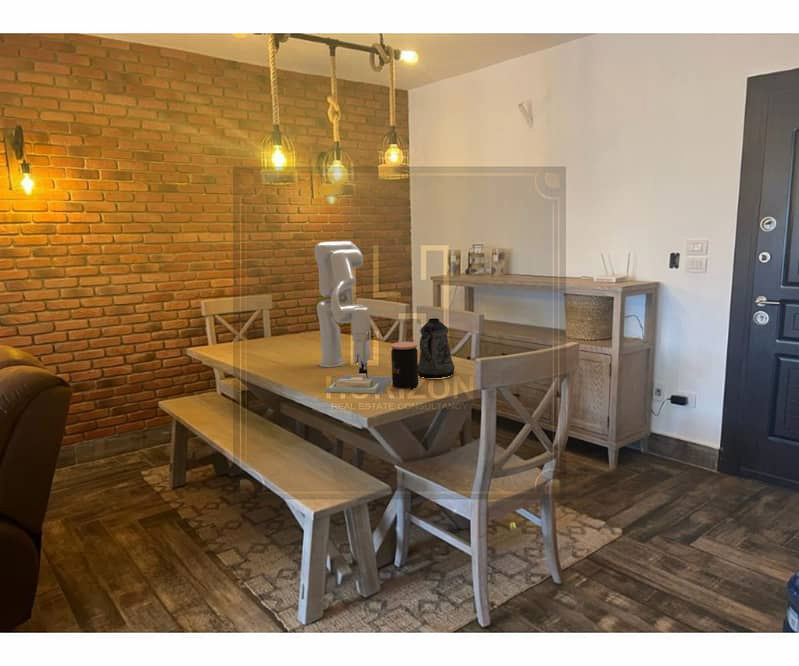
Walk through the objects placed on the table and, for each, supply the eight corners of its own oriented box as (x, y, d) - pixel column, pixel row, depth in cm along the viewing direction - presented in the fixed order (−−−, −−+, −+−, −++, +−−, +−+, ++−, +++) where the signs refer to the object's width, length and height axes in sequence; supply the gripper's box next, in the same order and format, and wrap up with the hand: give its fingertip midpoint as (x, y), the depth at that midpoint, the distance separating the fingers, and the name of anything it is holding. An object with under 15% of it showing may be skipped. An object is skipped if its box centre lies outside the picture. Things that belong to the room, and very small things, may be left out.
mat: (341, 377, 257) (341, 371, 256) (394, 378, 252) (394, 372, 251) (322, 394, 232) (322, 387, 231) (381, 396, 227) (380, 389, 226)
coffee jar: (391, 384, 244) (390, 342, 240) (417, 383, 244) (415, 341, 241) (393, 391, 233) (391, 347, 230) (419, 390, 234) (418, 346, 231)
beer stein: (453, 369, 264) (452, 315, 260) (456, 381, 245) (455, 322, 241) (417, 370, 265) (415, 316, 260) (417, 382, 246) (415, 323, 241)
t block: (345, 382, 245) (345, 373, 244) (377, 383, 242) (377, 373, 242) (336, 391, 232) (335, 382, 231) (370, 392, 229) (369, 382, 229)
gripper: (357, 332, 251) (359, 374, 255) (347, 339, 237) (349, 383, 240) (374, 333, 250) (376, 374, 253) (365, 340, 235) (367, 383, 239)
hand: (363, 378), depth 247 cm, fingers closed
